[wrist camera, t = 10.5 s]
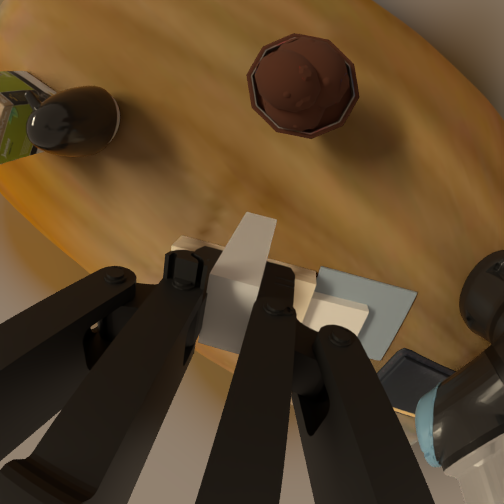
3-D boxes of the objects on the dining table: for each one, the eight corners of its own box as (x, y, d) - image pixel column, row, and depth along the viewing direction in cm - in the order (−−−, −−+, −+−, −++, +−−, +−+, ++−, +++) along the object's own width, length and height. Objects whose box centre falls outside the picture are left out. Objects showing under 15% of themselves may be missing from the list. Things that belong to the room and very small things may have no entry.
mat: (416, 291, 43) (417, 293, 43) (380, 359, 49) (380, 360, 49) (321, 265, 44) (321, 267, 44) (293, 340, 50) (293, 341, 49)
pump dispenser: (115, 73, 37) (45, 64, 23) (140, 131, 40) (72, 141, 26) (69, 109, 40) (-1, 115, 26) (91, 163, 43) (22, 185, 29)
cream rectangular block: (367, 304, 45) (369, 312, 43) (352, 335, 47) (353, 342, 45) (311, 290, 45) (311, 297, 43) (299, 322, 48) (299, 330, 46)
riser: (315, 271, 44) (316, 284, 41) (292, 335, 49) (290, 350, 46) (181, 235, 45) (171, 245, 42) (173, 301, 50) (164, 315, 47)
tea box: (8, 117, 42) (-50, 127, 28) (26, 69, 38) (-35, 70, 24) (49, 152, 43) (-15, 170, 30) (71, 100, 39) (3, 104, 26)
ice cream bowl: (303, 152, 38) (304, 167, 25) (241, 91, 36) (208, 74, 23) (362, 100, 34) (396, 87, 21) (301, 38, 32) (300, -6, 19)
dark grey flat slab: (468, 380, 47) (417, 424, 53) (465, 374, 49) (415, 418, 55) (406, 348, 46) (350, 401, 52) (403, 341, 48) (350, 394, 54)
